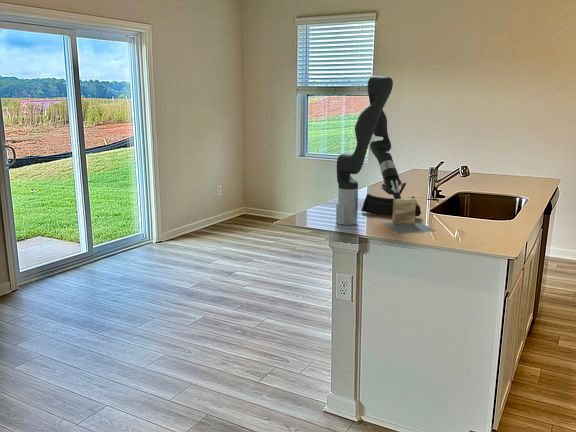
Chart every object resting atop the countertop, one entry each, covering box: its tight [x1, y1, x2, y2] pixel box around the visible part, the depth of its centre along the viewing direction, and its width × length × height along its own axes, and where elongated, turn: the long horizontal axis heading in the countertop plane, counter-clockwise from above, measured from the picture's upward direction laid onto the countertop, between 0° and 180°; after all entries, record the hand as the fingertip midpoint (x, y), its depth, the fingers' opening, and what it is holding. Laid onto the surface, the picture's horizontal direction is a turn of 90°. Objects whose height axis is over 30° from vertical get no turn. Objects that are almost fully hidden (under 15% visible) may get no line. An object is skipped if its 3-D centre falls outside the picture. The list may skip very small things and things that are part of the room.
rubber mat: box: [382, 220, 437, 234], centre depth 236 cm, size 20×18×1 cm
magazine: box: [361, 193, 422, 218], centre depth 259 cm, size 17×3×30 cm
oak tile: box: [391, 197, 417, 225], centre depth 240 cm, size 3×10×12 cm, turn 102°
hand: (398, 200), depth 246 cm, fingers closed
